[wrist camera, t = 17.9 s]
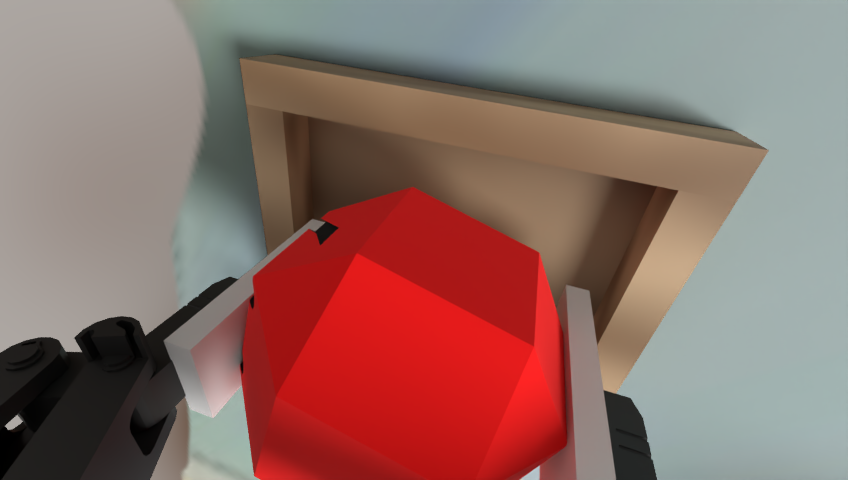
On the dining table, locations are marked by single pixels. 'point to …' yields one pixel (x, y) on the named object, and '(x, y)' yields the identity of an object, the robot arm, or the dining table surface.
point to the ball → (403, 350)
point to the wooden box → (505, 178)
